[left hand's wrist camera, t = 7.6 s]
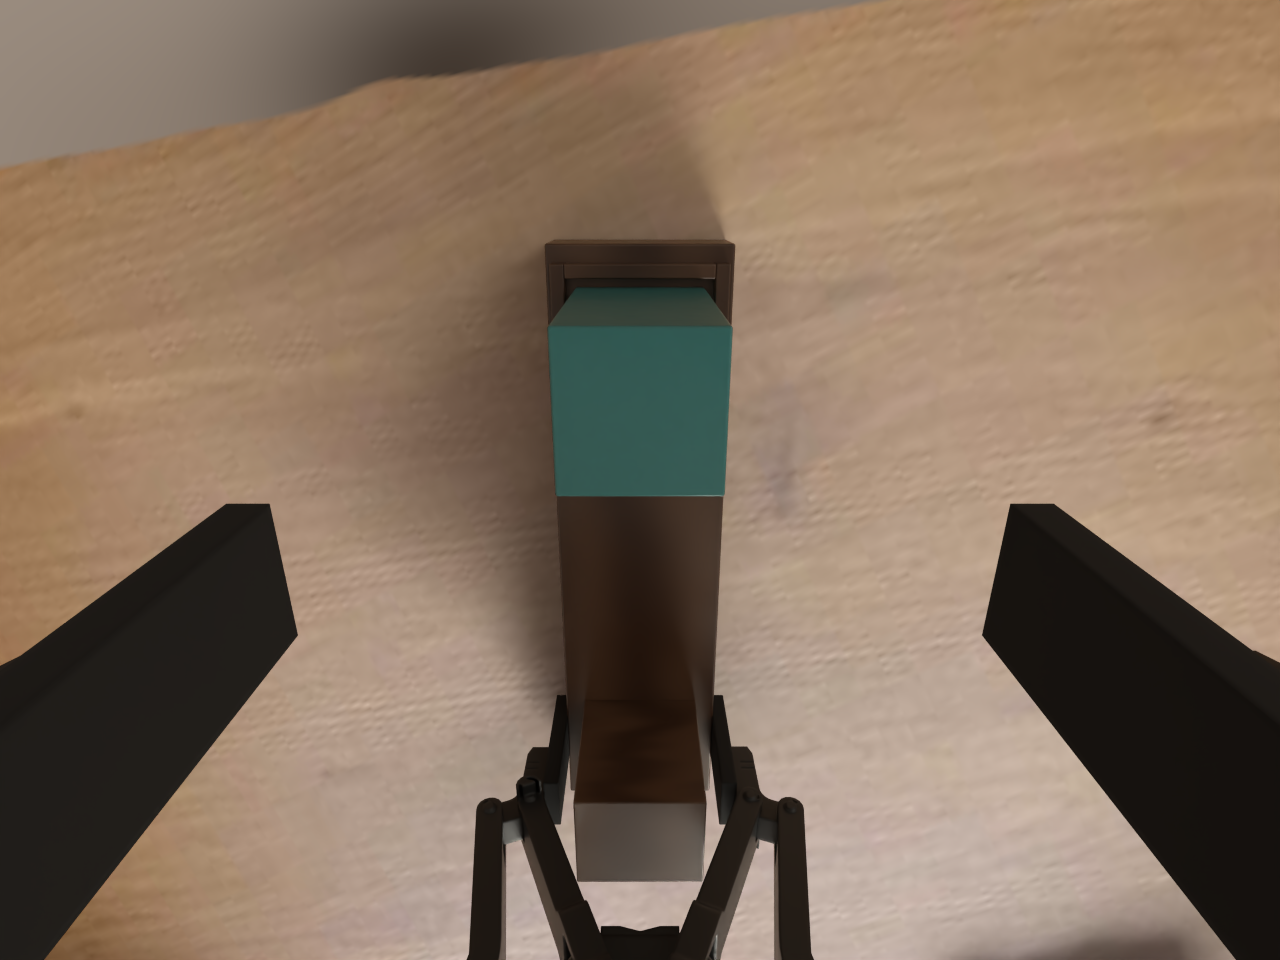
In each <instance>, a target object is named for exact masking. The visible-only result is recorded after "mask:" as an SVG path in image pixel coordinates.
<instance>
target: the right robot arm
mask: <svg viewBox="0 0 1280 960" xmlns="http://www.w3.org/2000/svg"><path fill="white" fill-rule="evenodd" d="M711 761H712V769H713V777H714V785H715V793H716V801H717V809H718V817H719V824H726V825H725V828H724V830H723V833H722V835H721V838H720V841H719V843H718V846H717V848H716V851H715V853H714V856H713V858H712V861H711V863H710V866H709V869H708V871H707V874H706V876H705V879H704V881H703V884H702V886H701V889H700V892H699V894H698V897H697V899H696V900H694V901H693V902H692V904H691V907H690V909H689V912H688V914H687V917H686V919H685V922H684V924H683V927H682V929H681V932H680V933H679V926H659V927H655V928H651V929H647V930H643V931H637V930H633V929H629V928H625V927H621V926H601V933H600V932H599V929H598V927H597V924H596V922H595V919H594V916H593V914H592V911H591V909H590V906H589V904H588V902H587V901H586V900H585V901H584V899H583V896H582V894H581V891H580V889H579V886H578V884H577V881H576V879H575V876H574V873H573V871H572V868H571V866H570V863H569V861H568V858H567V856H566V853H565V850H564V848H563V845H562V843H561V840H560V838H559V835H558V833H557V830H556V827H555V825H554V824H561V817H562V809H563V801H564V793H565V785H566V777H567V769H568V762H569V736H568V716H567V699H566V695H557V700H556V706H555V712H554V718H553V724H552V731H551V737H550V743H549V747H533V748H532V749H531V751H530V752H529V753H528V756H527V761H526V766H525V771H524V776H523V777H522V778H520V779H519V780H518V781H517V784H516V790H517V796H516V797H515V798H513V799H511V800H509V801H505V802H501V801H500V800H499V799H496V798H487V799H484V800H483V801H481V802H480V803H479V804H478V806H477V809H476V828H475V847H474V867H473V887H472V906H471V926H470V946H469V955H468V958H467V960H506V844H509V843H512V842H516V841H519V840H522V843H523V846H524V850H525V853H526V856H527V859H528V862H529V865H530V868H531V871H532V874H533V877H534V880H535V883H536V886H537V889H538V892H539V895H540V898H541V901H542V904H543V907H544V910H545V913H546V916H547V919H548V922H549V925H550V928H551V931H552V934H553V937H554V940H555V943H556V946H557V949H558V953H559V957H560V960H720V958H721V953H722V950H723V947H724V944H725V941H726V938H727V935H728V932H729V929H730V925H731V922H732V919H733V916H734V913H735V910H736V907H737V904H738V901H739V898H740V895H741V892H742V889H743V886H744V883H745V880H746V877H747V874H748V871H749V868H750V865H751V862H752V859H753V856H754V853H755V850H756V848H758V849H759V839H760V840H763V841H767V842H770V843H774V960H814V959H813V956H812V954H811V941H810V921H809V902H808V883H807V863H806V844H805V824H804V808H803V805H802V804H801V802H800V801H798V800H797V799H795V798H792V797H785V798H782V799H781V800H780V801H779V802H777V801H774V800H771V799H768V798H767V797H765V796H764V795H763V794H762V793H761V791H760V789H759V785H758V780H757V775H756V770H755V765H754V760H753V755H752V753H751V751H750V750H749V749H748V747H731V742H730V736H729V730H728V724H727V718H726V712H725V706H724V700H723V695H714V699H713V716H712V737H711Z"/></svg>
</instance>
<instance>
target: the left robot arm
mask: <svg viewBox="0 0 1280 960" xmlns="http://www.w3.org/2000/svg"><path fill="white" fill-rule="evenodd" d="M297 636H298V634H297V629H296V624H295V620H294V615H293V610H292V606H291V601H290V596H289V592H288V587H287V583H286V578H285V573H284V569H283V564H282V559H281V555H280V550H279V545H278V541H277V536H276V532H275V527H274V522H273V518H272V513H271V508H270V504H225V505H224V506H223V507H221V508H220V509H219V510H217V511H216V512H215V513H213V514H212V515H210V516H209V517H208V518H206V519H205V520H204V521H202V522H201V523H200V524H198V525H197V526H196V527H194V528H193V529H192V530H190V531H189V532H187V533H186V534H185V535H183V536H182V537H181V538H179V539H178V540H177V541H175V542H174V543H173V544H171V545H170V546H169V547H167V548H166V549H164V550H163V551H162V552H160V553H159V554H158V555H156V556H155V557H154V558H152V559H151V560H150V561H148V562H147V563H146V564H144V565H143V566H141V567H140V568H139V569H137V570H136V571H135V572H133V573H132V574H131V575H129V576H128V577H127V578H125V579H124V580H123V581H121V582H120V583H118V584H117V585H116V586H114V587H113V588H112V589H110V590H109V591H108V592H106V593H105V594H104V595H102V596H101V597H99V598H98V599H97V600H95V601H94V602H93V603H91V604H90V605H89V606H87V607H86V608H85V609H83V610H82V611H81V612H79V613H78V614H76V615H75V616H74V617H72V618H71V619H70V620H68V621H67V622H66V623H64V624H63V625H62V626H60V627H59V628H58V629H56V630H55V631H53V632H52V633H51V634H49V635H48V636H47V637H45V638H44V639H43V640H41V641H40V642H39V643H37V644H36V645H35V646H33V647H32V648H30V649H29V650H28V651H26V652H25V653H24V654H22V655H21V656H19V657H17V658H15V659H13V660H11V661H9V662H7V663H5V664H3V665H1V666H0V960H44V959H45V958H46V957H47V955H48V954H49V953H50V951H51V950H52V949H53V948H54V946H55V945H56V944H57V943H58V941H59V940H60V939H61V937H62V936H63V935H64V934H65V932H66V931H67V930H68V928H69V927H70V926H71V925H72V923H73V922H74V921H75V920H76V918H77V917H78V916H79V914H80V913H81V912H82V911H83V909H84V908H85V907H86V905H87V904H88V903H89V902H90V900H91V899H92V898H93V897H94V895H95V894H96V893H97V891H98V890H99V889H100V888H101V886H102V885H103V884H104V882H105V881H106V880H107V879H108V877H109V876H110V875H111V874H112V872H113V871H114V870H115V868H116V867H117V866H118V865H119V863H120V862H121V861H122V859H123V858H124V857H125V856H126V854H127V853H128V852H129V851H130V849H131V848H132V847H133V845H134V844H135V843H136V842H137V840H138V839H139V838H140V836H141V835H142V834H143V833H144V831H145V830H146V829H147V828H148V826H149V825H150V824H151V822H152V821H153V820H154V819H155V817H156V816H157V815H158V813H159V812H160V811H161V810H162V808H163V807H164V806H165V805H166V803H167V802H168V801H169V799H170V798H171V797H172V796H173V794H174V793H175V792H176V790H177V789H178V788H179V787H180V785H181V784H182V783H183V782H184V780H185V779H186V778H187V776H188V775H189V774H190V773H191V771H192V770H193V769H194V767H195V766H196V765H197V764H198V762H199V761H200V760H201V759H202V757H203V756H204V755H205V753H206V752H207V751H208V750H209V748H210V747H211V746H212V744H213V743H214V742H215V741H216V739H217V738H218V737H219V736H220V734H221V733H222V732H223V730H224V729H225V728H226V727H227V725H228V724H229V723H230V721H231V720H232V719H233V718H234V716H235V715H236V714H237V712H238V711H239V710H240V709H241V707H242V706H243V705H244V704H245V702H246V701H247V700H248V698H249V697H250V696H251V695H252V693H253V692H254V691H255V689H256V688H257V687H258V686H259V684H260V683H261V682H262V681H263V679H264V678H265V677H266V675H267V674H268V673H269V672H270V670H271V669H272V668H273V666H274V665H275V664H276V663H277V661H278V660H279V659H280V658H281V656H282V655H283V654H284V652H285V651H286V650H287V649H288V647H289V646H290V645H291V643H292V642H293V641H294V640H295V638H296V637H297ZM982 636H983V637H984V638H985V640H986V641H987V642H988V643H989V645H990V646H991V647H992V649H993V650H994V651H995V652H996V654H997V655H998V656H999V658H1000V659H1001V660H1002V661H1003V663H1004V664H1005V665H1006V666H1007V668H1008V669H1009V670H1010V672H1011V673H1012V674H1013V675H1014V677H1015V678H1016V679H1017V681H1018V682H1019V683H1020V684H1021V686H1022V687H1023V688H1024V689H1025V691H1026V692H1027V693H1028V695H1029V696H1030V697H1031V698H1032V700H1033V701H1034V702H1035V704H1036V705H1037V706H1038V707H1039V709H1040V710H1041V711H1042V713H1043V714H1044V715H1045V716H1046V718H1047V719H1048V720H1049V721H1050V723H1051V724H1052V725H1053V727H1054V728H1055V729H1056V730H1057V732H1058V733H1059V734H1060V736H1061V737H1062V738H1063V739H1064V741H1065V742H1066V743H1067V744H1068V746H1069V747H1070V748H1071V750H1072V751H1073V752H1074V753H1075V755H1076V756H1077V757H1078V759H1079V760H1080V761H1081V762H1082V764H1083V765H1084V766H1085V767H1086V769H1087V770H1088V771H1089V773H1090V774H1091V775H1092V776H1093V778H1094V779H1095V780H1096V782H1097V783H1098V784H1099V785H1100V787H1101V788H1102V789H1103V790H1104V792H1105V793H1106V794H1107V796H1108V797H1109V798H1110V799H1111V801H1112V802H1113V803H1114V805H1115V806H1116V807H1117V808H1118V810H1119V811H1120V812H1121V813H1122V815H1123V816H1124V817H1125V819H1126V820H1127V821H1128V822H1129V824H1130V825H1131V826H1132V828H1133V829H1134V830H1135V831H1136V833H1137V834H1138V835H1139V836H1140V838H1141V839H1142V840H1143V842H1144V843H1145V844H1146V845H1147V847H1148V848H1149V849H1150V851H1151V852H1152V853H1153V854H1154V856H1155V857H1156V858H1157V859H1158V861H1159V862H1160V863H1161V865H1162V866H1163V867H1164V868H1165V870H1166V871H1167V872H1168V874H1169V875H1170V876H1171V877H1172V879H1173V880H1174V881H1175V882H1176V884H1177V885H1178V886H1179V888H1180V889H1181V890H1182V891H1183V893H1184V894H1185V895H1186V897H1187V898H1188V899H1189V900H1190V902H1191V903H1192V904H1193V905H1194V907H1195V908H1196V909H1197V911H1198V912H1199V913H1200V914H1201V916H1202V917H1203V918H1204V920H1205V921H1206V922H1207V923H1208V925H1209V926H1210V927H1211V928H1212V930H1213V931H1214V932H1215V934H1216V935H1217V936H1218V937H1219V939H1220V940H1221V941H1222V943H1223V944H1224V945H1225V946H1226V948H1227V949H1228V950H1229V951H1230V953H1231V954H1232V955H1233V957H1234V958H1235V959H1236V960H1280V663H1279V662H1277V661H1275V660H1273V659H1271V658H1269V657H1267V656H1265V655H1263V654H1261V653H1259V652H1257V651H1252V650H1251V649H1250V648H1248V647H1247V646H1245V645H1244V644H1243V643H1241V642H1240V641H1239V640H1237V639H1236V638H1235V637H1233V636H1232V635H1231V634H1229V633H1228V632H1227V631H1225V630H1224V629H1222V628H1221V627H1220V626H1218V625H1217V624H1216V623H1214V622H1213V621H1212V620H1210V619H1209V618H1208V617H1206V616H1205V615H1204V614H1202V613H1201V612H1199V611H1198V610H1197V609H1195V608H1194V607H1193V606H1191V605H1190V604H1189V603H1187V602H1186V601H1185V600H1183V599H1182V598H1180V597H1179V596H1178V595H1176V594H1175V593H1174V592H1172V591H1171V590H1170V589H1168V588H1167V587H1166V586H1164V585H1163V584H1162V583H1160V582H1159V581H1157V580H1156V579H1155V578H1153V577H1152V576H1151V575H1149V574H1148V573H1147V572H1145V571H1144V570H1143V569H1141V568H1140V567H1139V566H1137V565H1136V564H1134V563H1133V562H1132V561H1130V560H1129V559H1128V558H1126V557H1125V556H1124V555H1122V554H1121V553H1120V552H1118V551H1117V550H1116V549H1114V548H1113V547H1111V546H1110V545H1109V544H1107V543H1106V542H1105V541H1103V540H1102V539H1101V538H1099V537H1098V536H1097V535H1095V534H1094V533H1093V532H1091V531H1090V530H1088V529H1087V528H1086V527H1084V526H1083V525H1082V524H1080V523H1079V522H1078V521H1076V520H1075V519H1074V518H1072V517H1071V516H1070V515H1068V514H1067V513H1065V512H1064V511H1063V510H1061V509H1060V508H1059V507H1057V506H1056V505H1055V504H1010V508H1009V513H1008V518H1007V522H1006V527H1005V532H1004V536H1003V541H1002V545H1001V550H1000V555H999V559H998V564H997V569H996V573H995V578H994V583H993V587H992V592H991V596H990V601H989V606H988V610H987V615H986V620H985V624H984V629H983V634H982Z"/></svg>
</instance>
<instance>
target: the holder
mask: <svg viewBox="0 0 1280 960" xmlns="http://www.w3.org/2000/svg"><path fill="white" fill-rule="evenodd" d="M734 261H735V244H733V243H731V242H729V241H727V240H553V241H551V242H549V243H547V244H545V262H546V283H547V304H548V324H550V323H551V322H552V320H553V319H554V317H555V316H556V315H557V313H558V312H559V311H560V309H561V308H562V306H563V305H564V304H565V302H566V301H567V300H568V298H569V297H570V295H571V294H572V293H573V291H574V290H575V288H576V287H704V289H705V290H706V291H707V293H708V294H709V295H710V297H711V298H712V300H713V301H714V302H715V304H716V305H717V306H718V308H719V309H720V311H721V312H722V313H723V315H724V316H725V318H726V319H727V320H728V322H729V323H730V324H731V323H732V302H733V282H734ZM722 511H723V496H557V512H558V532H559V553H560V574H561V595H562V616H563V636H564V657H565V678H566V699H567V716H568V736H569V761H570V782H571V790H575V794H574V824H575V845H576V866H577V881H578V882H702V881H703V867H704V846H705V824H706V794H705V790H709V783H710V762H711V737H712V716H713V699H714V678H715V657H716V637H717V616H718V595H719V574H720V553H721V532H722Z"/></svg>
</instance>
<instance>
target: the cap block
mask: <svg viewBox="0 0 1280 960" xmlns="http://www.w3.org/2000/svg"><path fill="white" fill-rule="evenodd" d="M732 332H733V328H732V326H731V324H730V323H729V322H728V320H727V319H726V318H725V316H724V315H723V313H722V312H721V311H720V309H719V308H718V306H717V305H716V304H715V302H714V301H713V300H712V298H711V297H710V295H709V294H708V293H707V291H706V290H705V289H704V287H576V288H575V290H574V291H573V293H572V294H571V295H570V297H569V298H568V300H567V301H566V302H565V304H564V305H563V306H562V308H561V309H560V311H559V312H558V313H557V315H556V316H555V317H554V319H553V320H552V322H551V323H550V324H549V326H548V328H547V333H548V354H549V374H550V395H551V415H552V435H553V456H554V476H555V494H556V496H724V494H725V476H726V455H727V434H728V414H729V393H730V373H731V352H732Z"/></svg>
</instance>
